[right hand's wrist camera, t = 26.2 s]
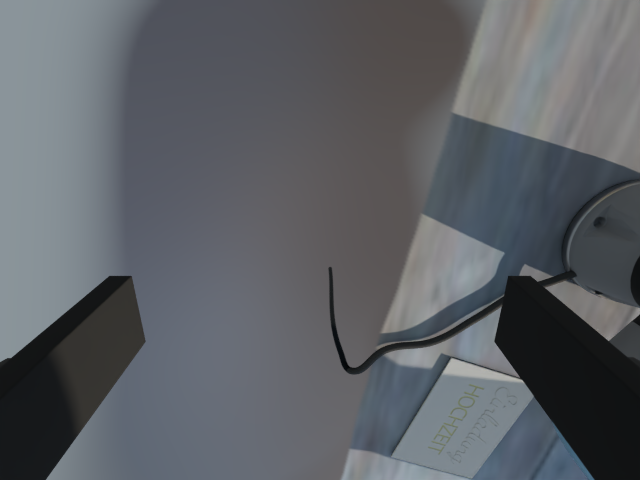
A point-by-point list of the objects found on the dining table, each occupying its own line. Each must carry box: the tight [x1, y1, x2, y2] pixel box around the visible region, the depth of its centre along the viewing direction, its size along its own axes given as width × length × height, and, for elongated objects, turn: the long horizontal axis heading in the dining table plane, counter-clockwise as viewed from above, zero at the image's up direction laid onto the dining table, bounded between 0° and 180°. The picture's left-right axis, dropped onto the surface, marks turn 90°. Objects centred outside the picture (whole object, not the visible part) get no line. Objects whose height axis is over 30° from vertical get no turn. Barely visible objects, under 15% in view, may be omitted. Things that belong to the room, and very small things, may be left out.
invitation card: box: [391, 357, 534, 479], centre depth 56 cm, size 21×1×15 cm
